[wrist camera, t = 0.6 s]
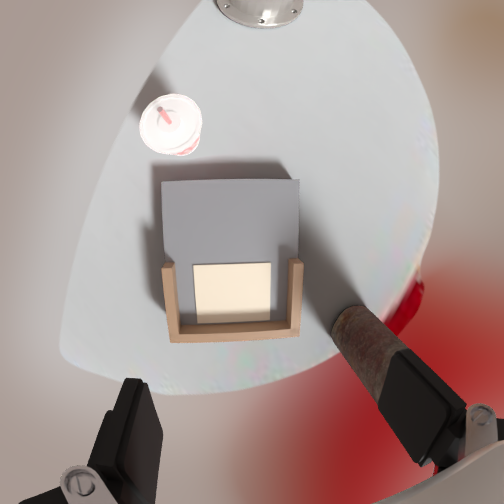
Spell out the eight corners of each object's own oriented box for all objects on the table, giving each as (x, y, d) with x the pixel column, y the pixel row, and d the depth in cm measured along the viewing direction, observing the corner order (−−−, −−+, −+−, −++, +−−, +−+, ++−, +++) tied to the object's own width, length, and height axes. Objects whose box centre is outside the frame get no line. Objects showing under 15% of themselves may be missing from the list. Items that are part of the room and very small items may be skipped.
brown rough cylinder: (351, 351, 43) (414, 433, 23) (318, 337, 41) (378, 428, 22) (378, 313, 42) (457, 382, 22) (346, 295, 40) (428, 370, 21)
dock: (165, 182, 33) (156, 181, 28) (292, 180, 35) (305, 179, 30) (175, 322, 38) (170, 342, 32) (289, 317, 40) (299, 336, 34)
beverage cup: (207, 115, 32) (201, 73, 19) (204, 161, 34) (196, 145, 20) (159, 116, 31) (127, 78, 18) (156, 162, 33) (120, 148, 19)
